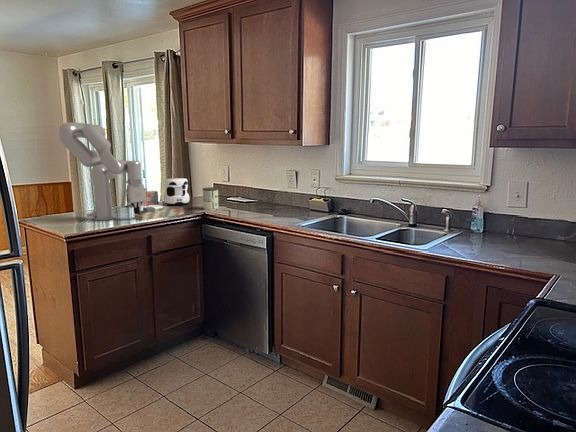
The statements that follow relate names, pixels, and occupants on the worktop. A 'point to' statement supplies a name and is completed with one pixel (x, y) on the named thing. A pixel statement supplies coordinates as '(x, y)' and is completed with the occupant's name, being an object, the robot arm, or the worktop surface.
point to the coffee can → (210, 198)
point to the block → (148, 209)
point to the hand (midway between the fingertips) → (137, 213)
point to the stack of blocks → (149, 198)
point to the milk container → (176, 191)
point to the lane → (160, 213)
